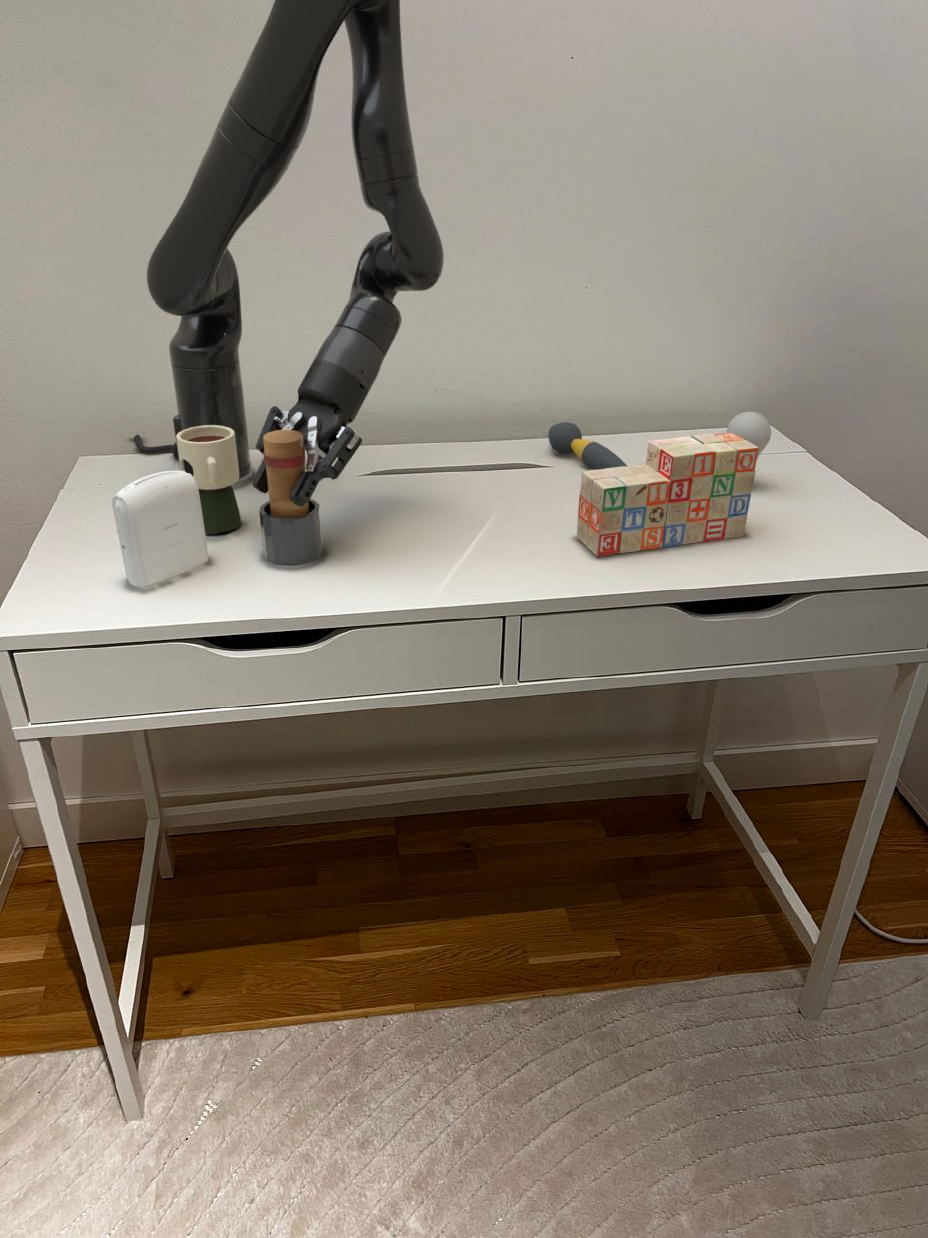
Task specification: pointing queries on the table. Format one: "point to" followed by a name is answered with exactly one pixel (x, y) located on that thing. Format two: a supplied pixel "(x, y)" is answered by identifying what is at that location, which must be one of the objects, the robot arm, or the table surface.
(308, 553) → the cup
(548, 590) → the table surface
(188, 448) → the character mug
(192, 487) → the photo printer
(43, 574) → the table surface
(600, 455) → the wand massager
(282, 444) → the red-banded tan cylinder
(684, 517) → the stack of blocks
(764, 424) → the lightbulb
